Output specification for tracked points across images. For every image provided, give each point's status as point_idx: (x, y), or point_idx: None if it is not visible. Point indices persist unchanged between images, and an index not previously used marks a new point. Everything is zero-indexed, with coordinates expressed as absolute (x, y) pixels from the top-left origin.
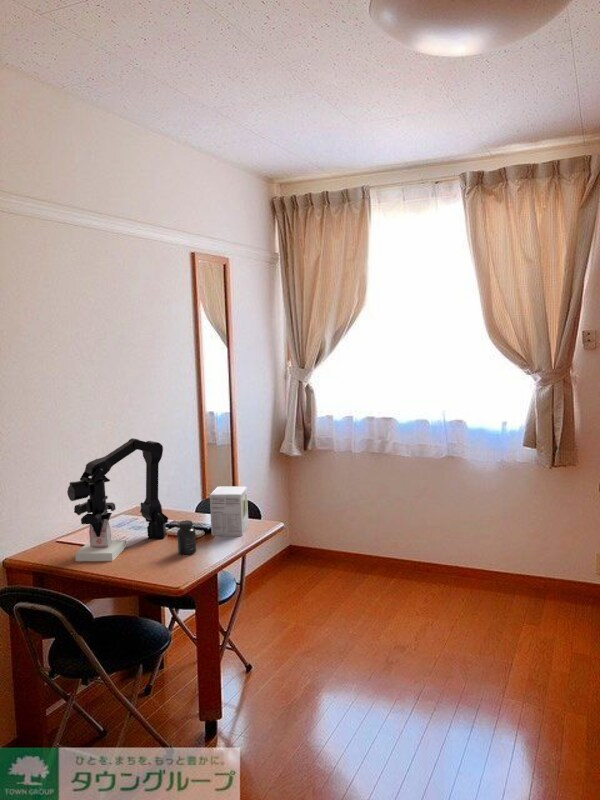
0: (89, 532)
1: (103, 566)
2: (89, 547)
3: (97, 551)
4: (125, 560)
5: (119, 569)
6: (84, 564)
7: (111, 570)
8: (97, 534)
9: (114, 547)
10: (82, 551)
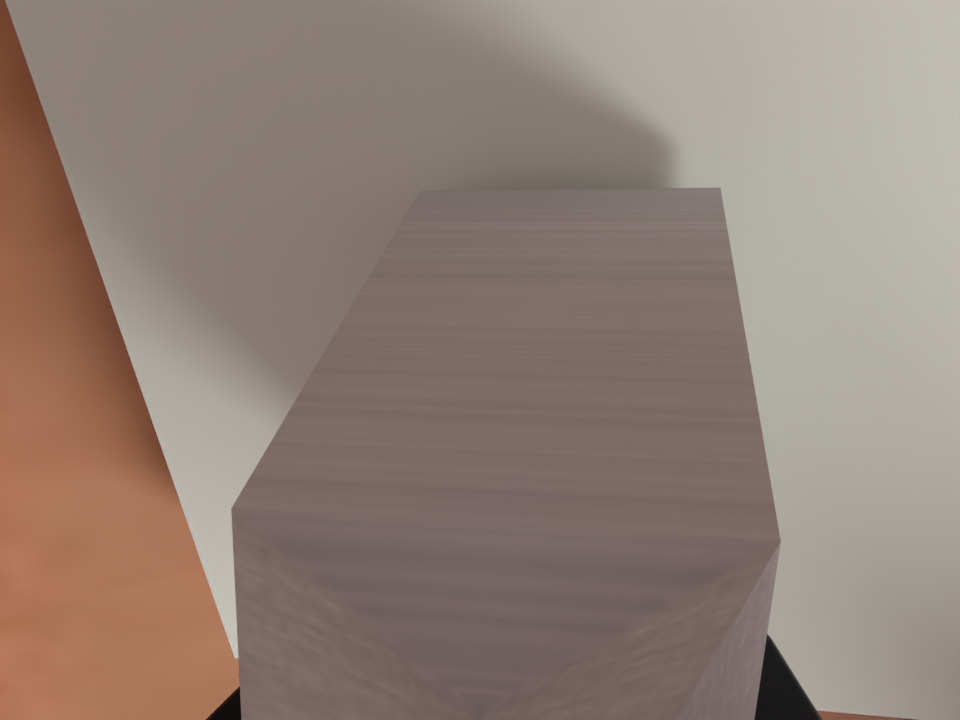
0: (243, 492)
1: (72, 494)
2: (483, 117)
3: (247, 419)
4: None
5: (64, 673)
6: (26, 175)
7: (3, 609)
8: None
9: None
10: (155, 56)
